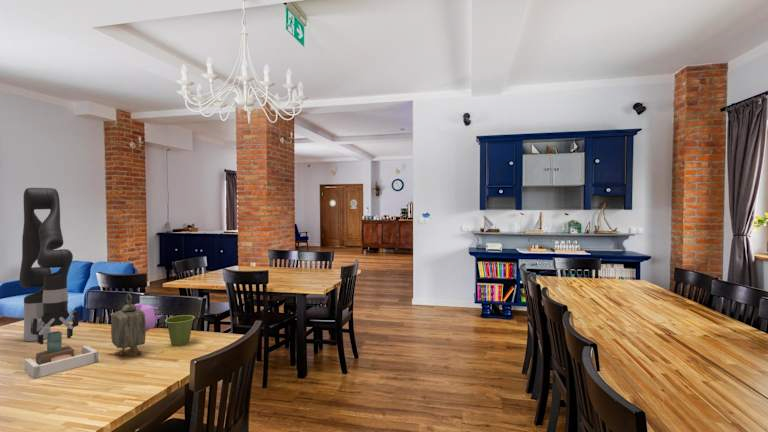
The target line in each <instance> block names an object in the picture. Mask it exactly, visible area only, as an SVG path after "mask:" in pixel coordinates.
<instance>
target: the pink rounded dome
mask: <svg viewBox="0 0 768 432" xmlns="http://www.w3.org/2000/svg"><path fill="white" fill-rule="evenodd" d="M70 357H72V355H60V356H56V357H53V358H52V359H51V362H53V361H57V360H61V359H66V358H70Z"/></svg>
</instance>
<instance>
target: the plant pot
mask: <svg viewBox="0 0 768 432" xmlns="http://www.w3.org/2000/svg"><path fill="white" fill-rule="evenodd" d="M195 318H196V316H194V315H191V314H186V315H185V314H182V315H175V316H170V317H168V318H166V319H165V320H164V321H165V323H166V326H167V328H168V329H167V330H168V335H169V339H170V344H171V346H173V347H174V346H181V347H182V346H183V345H184V346H185V345H187V344H188V343H190V339H191V333H192V327H193V324H194V320H195Z"/></svg>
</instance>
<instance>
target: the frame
mask: <svg viewBox="0 0 768 432" xmlns="http://www.w3.org/2000/svg"><path fill="white" fill-rule="evenodd" d="M81 347H82V348H81V349H82V350H81V353H82V354H78V355H74V357H70V358H66V359H61V360H57V361H53V362H49V363H45V364H41V365H38V364H37V363H36V361H35V360H33V359H31V357H30V358H26V359H24V371H25V372H26V373H28V375H30V376H31V378H33V379H38V378H42V377H45V376H49V375H53V374H57V373H62V372H65V371H68V370H73V369H76V368H80V367H83V366H87V365H91V364H95V363H99V361H100V360H99V355H100V353H99V351H98V350H96V349H95V348H92V347H91V346H89V345H82V346H81Z"/></svg>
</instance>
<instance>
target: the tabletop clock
mask: <svg viewBox="0 0 768 432" xmlns="http://www.w3.org/2000/svg"><path fill="white" fill-rule="evenodd" d="M128 296H129V298H130V299H129V300H128ZM125 298H126V302H127V304H125V305H124V306H123V307H122V309H121V310H117V311H115V312H113V313H114V314H112V313H111V314H112V316H111V320H110V321H111V324H110V325H111V326H110V327H111V328H110V331H111V335H110V337H111V343H112V344H113V345H114V347H116V348H117V347H118V348H117V349H121V351H120V352H119V354H120V356H123V355H125V354H126V353H125V349H128V348H129V349H131V350H132V349H135V350H136V355H137V356H140V355H141V354H142V353H143V352H142V351H141V350H139V348H138V346H141V345H145V344H146V333H147V332H146V330H147V329H146V324H145V313H144V312H143V311H142V310H141V309H139V308H136V307H135V304H133V303H132V301H133V297H132V295H131V293H128V292H127V293H126V297H125Z"/></svg>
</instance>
